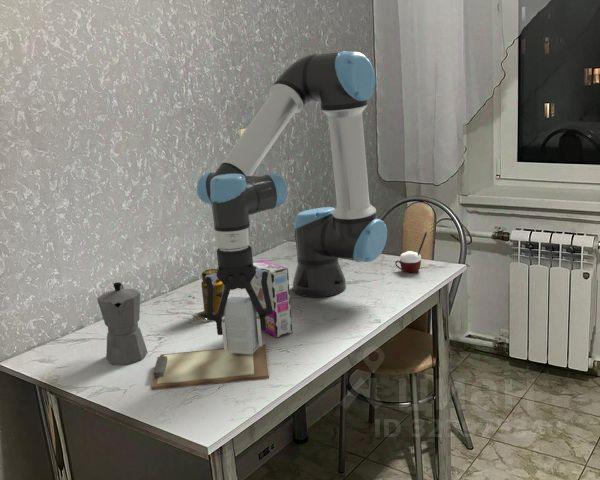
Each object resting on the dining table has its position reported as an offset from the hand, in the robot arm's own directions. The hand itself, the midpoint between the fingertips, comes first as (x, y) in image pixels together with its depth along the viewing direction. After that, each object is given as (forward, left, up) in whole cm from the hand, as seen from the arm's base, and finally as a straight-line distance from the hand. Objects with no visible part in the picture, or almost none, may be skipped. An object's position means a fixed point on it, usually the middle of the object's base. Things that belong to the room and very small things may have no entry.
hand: (243, 345), depth 147 cm
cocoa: (-51, -49, -3) cm, 71 cm away
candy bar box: (-7, -14, -3) cm, 16 cm away
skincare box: (0, 0, -1) cm, 1 cm away
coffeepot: (+27, -7, -3) cm, 28 cm away
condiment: (+8, -28, -3) cm, 29 cm away
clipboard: (+7, +4, -3) cm, 8 cm away
